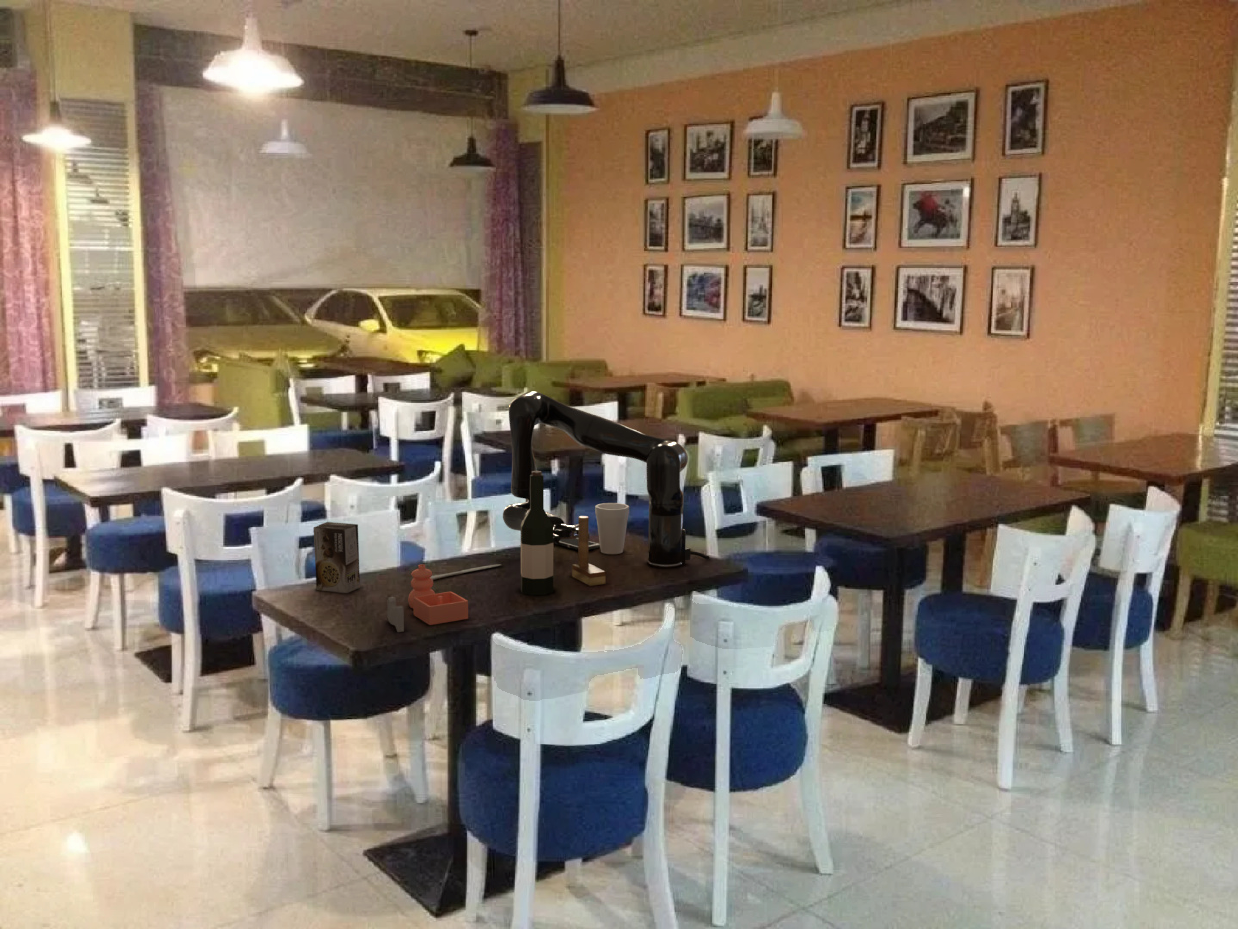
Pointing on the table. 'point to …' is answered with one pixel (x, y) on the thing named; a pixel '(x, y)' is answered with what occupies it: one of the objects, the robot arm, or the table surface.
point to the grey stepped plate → (395, 614)
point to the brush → (586, 557)
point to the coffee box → (336, 557)
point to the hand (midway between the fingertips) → (573, 538)
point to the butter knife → (461, 572)
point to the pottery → (434, 600)
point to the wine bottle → (536, 543)
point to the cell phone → (574, 544)
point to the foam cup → (612, 526)
